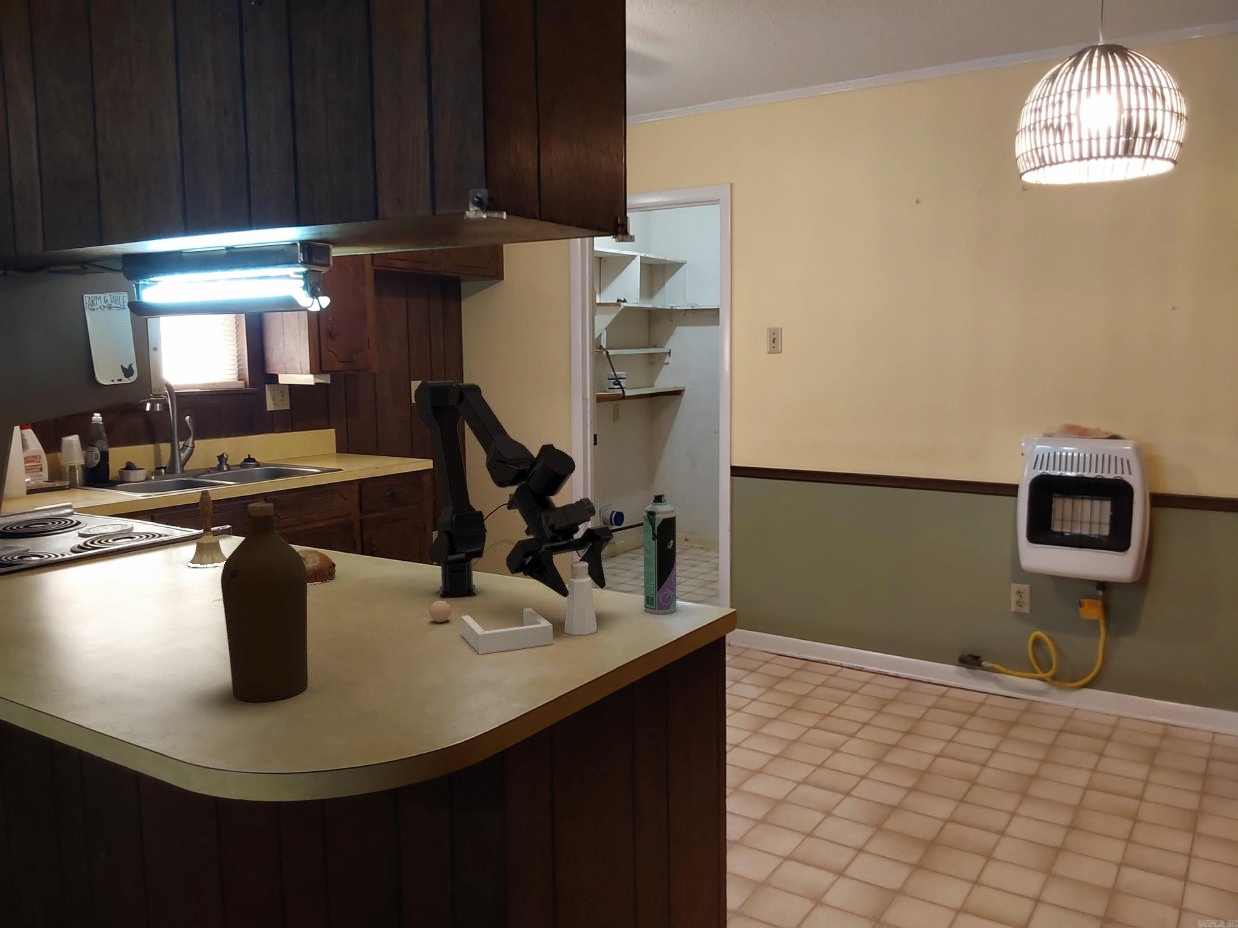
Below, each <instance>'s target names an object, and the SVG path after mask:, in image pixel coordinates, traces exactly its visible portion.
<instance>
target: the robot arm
mask: <svg viewBox="0 0 1238 928" xmlns="http://www.w3.org/2000/svg"><path fill="white" fill-rule="evenodd" d="M413 400H414V403H415V405H416V408H417V409H416V410H417V412H418V417H419V418H420V420H421V421H422V422H423V423H424V425H425V426H426V427H427V428H428V429H429V431H430V436H431V441H432V442H431V443H432V447H433V448H432V449H433V453H434V455H433V456H434V460H435V466H436V473H437V479H438V485H439V490H440V491H439V492H440V496H441V501H442V502H441V503H442V510H441V513H440V515H439V518H438V521H437V523H436V528H437V529H436V530H437V535H436V537H435V539H434V541H433V542H432V544H431V545H430V547H429V548H428V556H429V559H430V562H431V563H435V564H439V565H440V571H441V585H440V586H439V597H442V598H444V597H458V596H459V597H462V596H464V597H465V596H475V595H477V594H476V593H477V592H476V591H477V590H476V584H474V572H473V571H474V570H473V568H474V567H473V560H474V559H475V560H476V559H482V558H483V555H484V551H485V547H486V546H485V544H486V541H487V532H488V530H487V528H486V525H485V524H486V523H485V515H484V513H483V511H482V510H476V509H475V507H474V506H473V505H472V504H471V500H470V495H469V489H468V483H467V476H466V471H465V465H464V458H463V452H462V447H461V441H460V434H459V428H458V425H459V423H460V421H461V418H463V420H464V421H465V423H466V425H467V426H468V428H469V430H470V432H471V433H472V434H473V435H474V437H475V438H476V440H477V441H478V443H479V445H480V446H481V447H482V449H483V452H484V453H485V456H486V457H485V467H486V470H487V471H488V474H489V476H490V478H491V481H492V483H494V485H495V486H496V487H498V488H501V489H502V488H503V489H505V488H506V489H507V488H514V487H516V488H515V490H514V492H513V493H509V495H508V501H507V504H506V509H507V510H508V511H511V510H513V511H514V510H517V511H518V513H519V515H520V516H521V518H522V519H523V521H524V522H525V525H526V526H527V527H526V528H525V530H523V531H524V533H525V535H526V536H527V537H529V538H524V539H520V540H519V539H518V540H517V542H516V543H515V545H514V546H513V548H512V549H511V551H510V552H509V553H508V554H507V557H506V558H505V564H506V567H507V568H508V571H509V572H510V574H511V575H516V574H521V573H522V575H523V576H524V577H530V578H532V579H533V580H536V581H537V582H539V583H541V584H542V585H544V586H546V587H547V588H549V589H551V591H554V592H555V593H556V594H558V595H559V596H561V597H562V598H567V596H568V595H569V592H568V586H567V585H566V583H565V581H564V580H563V577H562V576H561V574H560V572H559V570H558V568H557V567H556V565H555V563H554V556H556V555H563V554H566V553H572V552H575V553H576V554H577V556H578V557H579V558H580V559H578V561H583V562H587V563H588V577H590V578H591V581H593V583H594V584H596V585H597V587H599V588H600V589H601V590H602V589H604V588H605V587H606V585H607V583H606V578H605V572H604V568H603V567H604V566H603V561H602V553H603V551H604V550H605V549H606V547H607V546H608V545H609V543H610V542H611V541H612V540H613V538H614V537H615V536H614V534H613V532H612V530H611V529H610V528H609V526H608V525H603V524H602V525H597V526H592V527H587V528H586V530H585V531H584V532H583V533H582V534H581V536H580V537H577V538H575V537H574V536H575V535H576V534H578V533H579V532H580V531H581V529H580V527H579V526H581V525H582V524H585V523H589V522H591V521H592V517H594V516H595V515H596V513H597V512H596V508H595V505H594V504H593V502H592V500H591V499H590V498H589V497H584V498H580V499H579V500H576V501H575V502H573V503H567V504H564V505H562V506H556V504H555V503H554V500H553V499H552V497H556V496H557V495H559V493H561V491H562V489H563V488H564V486H565V485H566V483H567V482H568V481H569V479H570V478H571V477H572V475H573V474H574V472H575V470H576V461H575V460H574V458H573V457H572V456H570V455H569V454H568V453H566V452H565V451H563V450H561V449H559V448H556V447H555V446H554V444H553V443H546V444H542V445H541V447H540V448H539V450H538V453H537V455H536V456H534V454H533V453H532V452H531V451H530V450H529V449H528V448H527V447H526V446H525V445H524V444H523V443H521V442H519V441H517V440H516V439H514V438H513V437H511V436H510V435H509V433H508V432H507V431H506V429H505V427H504V426H503V425H502V422H501V421H500V420H499V419H498V417H497V416H496V414H495V413H494V411H493V410H492V408H491V406H490V405H489V404H488V402H487V401H486V399H485V398H484V396H483V393H482V389H481V387H480V386H479V385H478V384H476V383H473V382H471V383H469V382H467V383H457V382H456V381H454V380H431V381H429V380H428V381H422V382H420V383H419V384H418V386H417V388H416V389H415V390H414V393H413ZM530 536H532V537H530Z"/></svg>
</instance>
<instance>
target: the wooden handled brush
mask: <svg viewBox="0 0 1238 928" xmlns="http://www.w3.org/2000/svg"><path fill="white" fill-rule="evenodd" d="M209 492H210V491H209V490H207V489H204V490H203V489H202V490H201V492H200V496H199V501H198V509H199V513H200V516H201V519H202V534H203V535H202V537H200V538H198V539H197V540H196V546H195V552H194V554H193V557H192V559H190V561H189V562H190V563H192V564H200V565H205V564H206V565H207V564H214V563H221V562H224V561H226V560H227V559H228V557H226V555H225V554H224V553H223V550H222V548H221V544H220V539H219V538H218V537H216V536H214V535H213V533H212V531H213V530H212V523H211V518H212V515H213V501H212V498H211V496H210V493H209Z"/></svg>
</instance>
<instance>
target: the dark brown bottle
mask: <svg viewBox="0 0 1238 928" xmlns="http://www.w3.org/2000/svg"><path fill="white" fill-rule="evenodd" d="M246 508H247V512H248V514H247V515H246V517H247V519H246V520H247V528H248V529H247V535H246V536H245V537H244V539H243V540H242V541H241V542H240V543H239V544H238V545H237V546H236V548H235V549H234V550H233V551H232V552H231V553H230V555H228V557H227V558H228V559H227V560H226V562H225V564H224V566H222V567H223V568H222V570H221V571H222V572H221V577H220V587H221V594H222V595H221V596H222V604H223V610H224V611H223V613H224V619H225V621H224V622H225V630H226V637H227V647H228V654H229V655H228V657H229V665H230V675H231V676H230V677H231V678H230V679H231V688H232V694H233V696H234V698H235V699H237V700H240V701H243V702H253V703H254V702H255V703H256V702H257V703H262V702H272V701H278V700H285V699H287V698H291V697H293V696H296V695H299V694H300V693H302V692H303V691H305V690H306V689H307V687H308V685H309V680H308V679H309V674H308V673H309V671H308V668H309V667H308V586H307V571H306V567H305V564H304V562H303V559H302V557H301V556H300V554H299V553H298V552H297V550H296V549H295V548H294V547H293V546H292V545H291V544H289V543H288V541H286V540H285V539H284V538H283V537H281V535H280V534H278V532H277V531H276V516H275V515H276V514H275V513H274V503H272V502H267V501H266V502H253V503H249V504H248V505H247V507H246Z"/></svg>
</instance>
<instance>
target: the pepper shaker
mask: <svg viewBox="0 0 1238 928" xmlns="http://www.w3.org/2000/svg"><path fill="white" fill-rule="evenodd" d="M570 569H571V570H570V571H571V572H570V573H571V575H570V577H569V579H568V582H567V583H568V584H567V589H568V592H569V595H568V596H567V597H566V605H565V606H566V608H565V621H564V633H566V634H569V635H572V636H587V635H591V634H594V633H596V632H597V629H598V627H597V616H596V609H595V603H594V593H593V592H594V591H593V584H592V579H591V578H590V577H589V575H588V563H587V562H583V561H579V560H578V561H574V562H571V563H570Z"/></svg>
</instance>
